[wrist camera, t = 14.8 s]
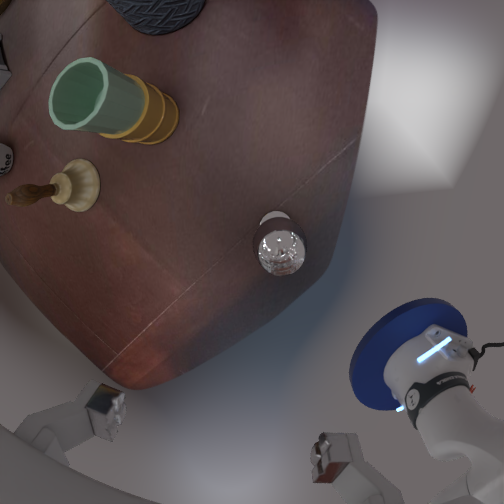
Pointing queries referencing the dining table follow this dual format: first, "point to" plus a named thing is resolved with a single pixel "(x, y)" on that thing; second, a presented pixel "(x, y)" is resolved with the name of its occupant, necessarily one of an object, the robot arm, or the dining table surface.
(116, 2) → the vase
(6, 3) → the lamp
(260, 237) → the wineglass
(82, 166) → the hand bell
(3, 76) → the alarm clock
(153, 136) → the cup stack
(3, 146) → the cup
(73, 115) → the sage cup
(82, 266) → the dining table surface
